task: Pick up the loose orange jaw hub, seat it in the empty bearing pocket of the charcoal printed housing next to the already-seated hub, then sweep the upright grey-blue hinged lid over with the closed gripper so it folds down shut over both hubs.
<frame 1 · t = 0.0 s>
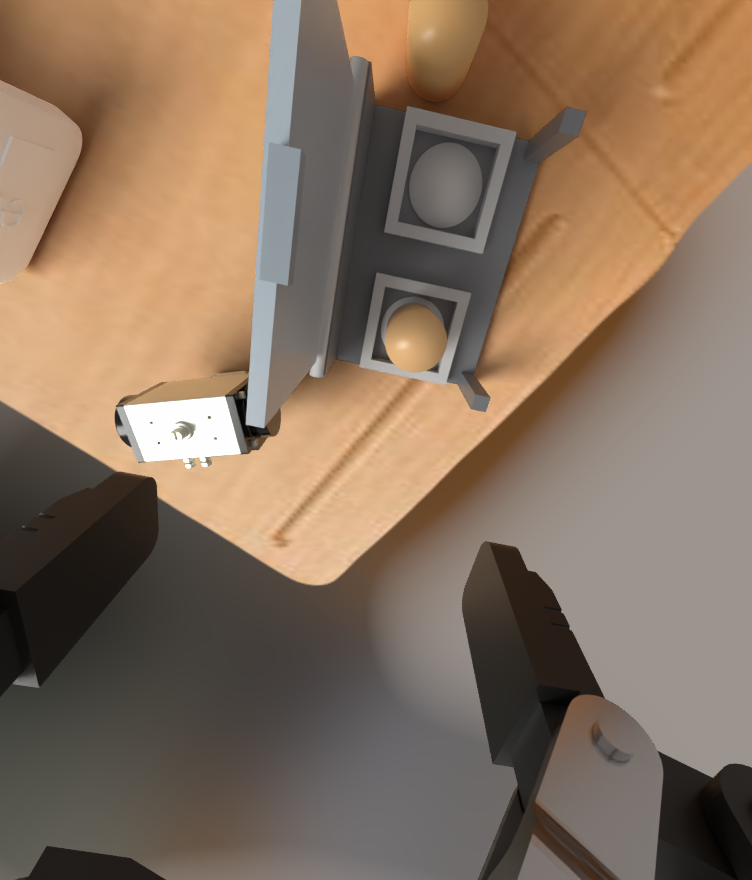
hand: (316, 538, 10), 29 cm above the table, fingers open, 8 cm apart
pneumatic valve: (238, 391, 39), on the table
housing: (421, 262, 34), on the table
cable organizer: (6, 171, 32), on the table
lid: (311, 232, 19), point 16 cm above the table, hinge at 90.0°
jaw hub: (437, 61, 28), on the table
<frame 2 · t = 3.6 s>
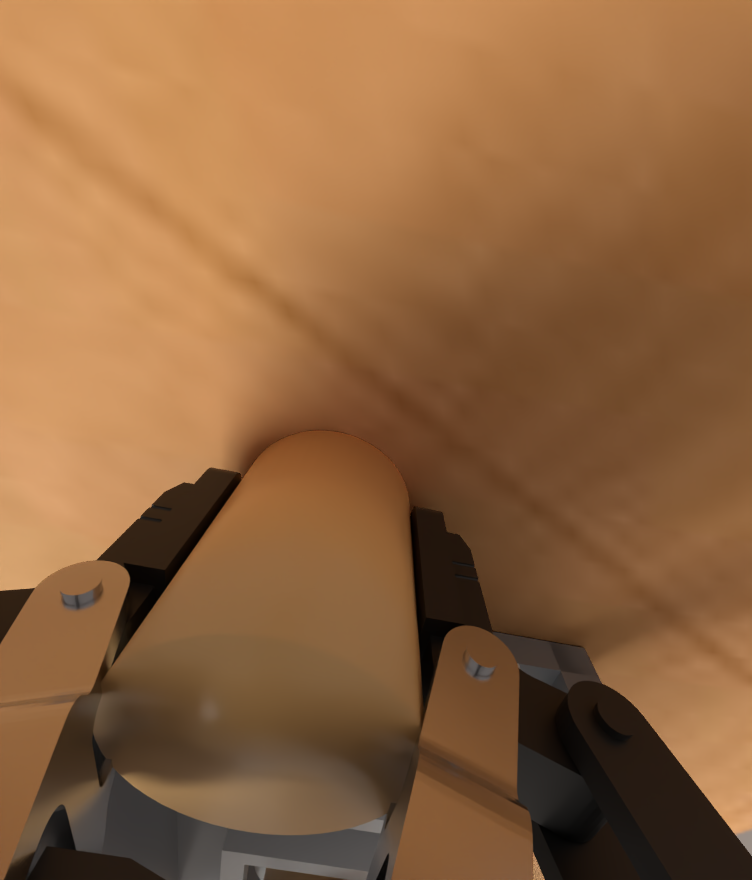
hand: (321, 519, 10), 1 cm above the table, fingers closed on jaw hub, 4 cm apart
housing: (328, 773, 16), on the table
jaw hub: (326, 506, 11), on the table, touching gripper
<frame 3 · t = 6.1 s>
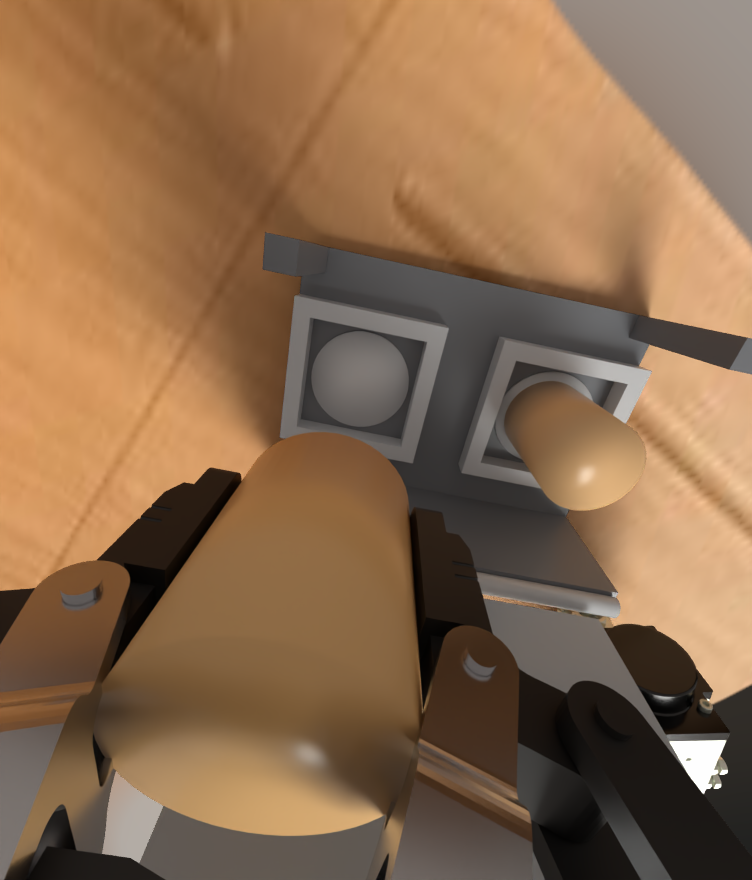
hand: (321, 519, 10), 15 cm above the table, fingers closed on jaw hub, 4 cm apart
pneumatic valve: (580, 614, 31), on the table
housing: (448, 401, 24), on the table
lid: (457, 753, 12), point 16 cm above the table, hinge at 90.0°
jaw hub: (326, 507, 11), point 14 cm above the table, touching gripper
when the fingers open (3 cm above the table, at t = 8.5 s): jaw hub stays where it is, resting on housing.
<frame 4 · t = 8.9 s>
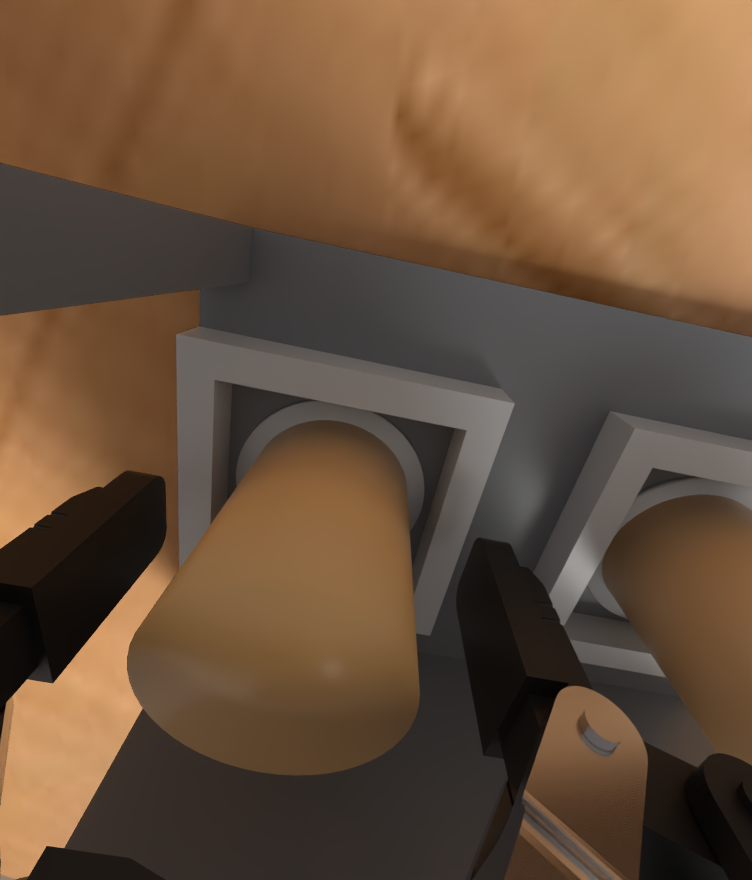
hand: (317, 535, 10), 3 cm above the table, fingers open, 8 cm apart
housing: (493, 515, 13), on the table
jaw hub: (329, 492, 12), point 1 cm above the table, touching housing
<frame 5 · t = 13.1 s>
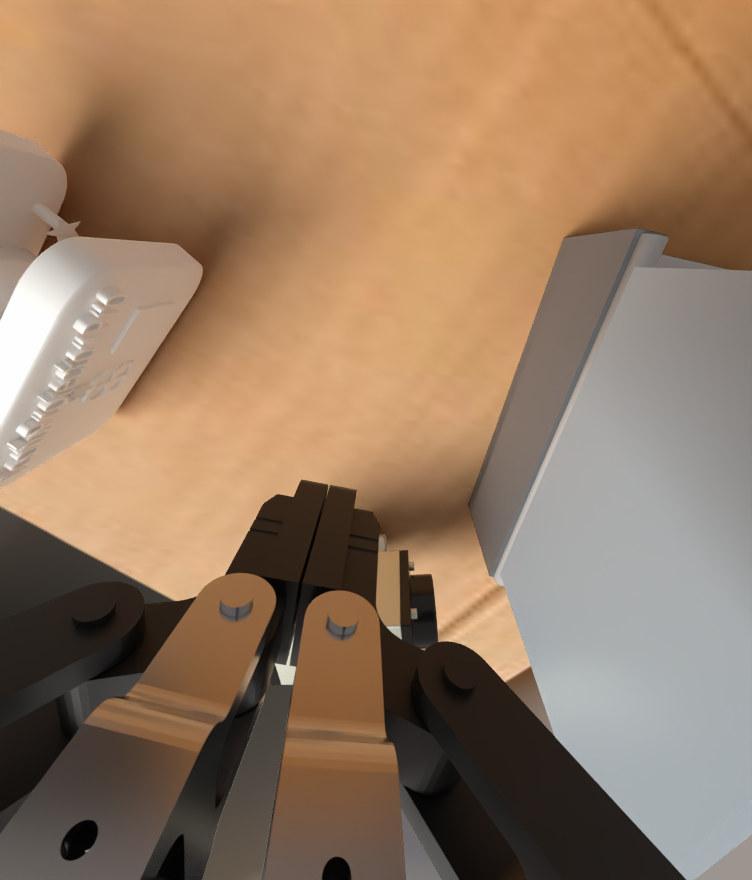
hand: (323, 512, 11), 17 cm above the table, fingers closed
pneumatic valve: (355, 539, 33), on the table
housing: (606, 411, 27), on the table
cable organizer: (97, 304, 26), on the table
lid: (654, 543, 13), point 16 cm above the table, hinge at 90.0°
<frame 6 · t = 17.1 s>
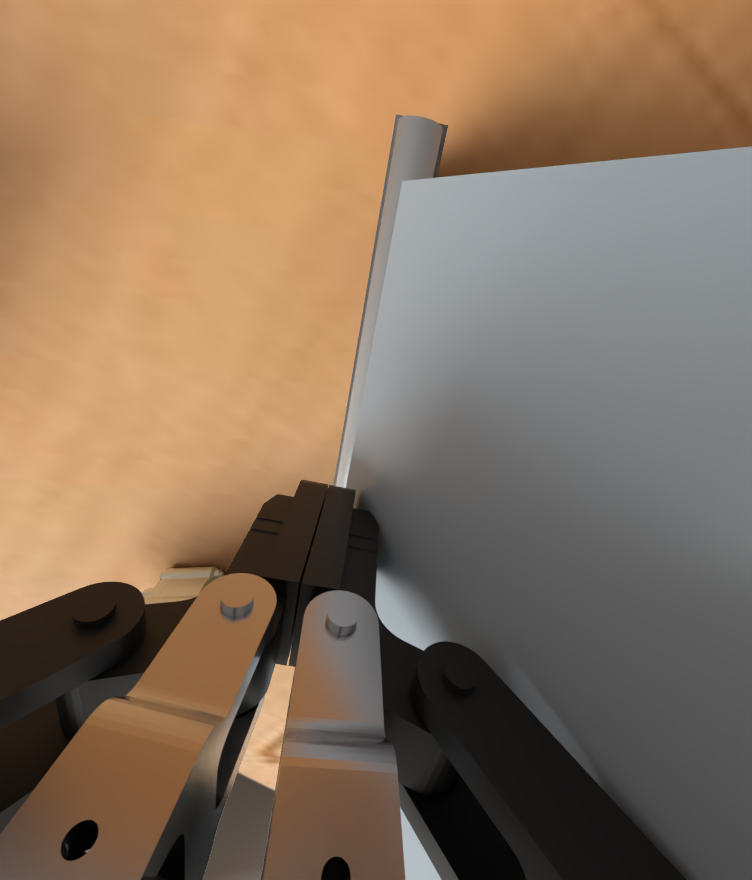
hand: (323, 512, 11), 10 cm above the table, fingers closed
pneumatic valve: (203, 587, 26), on the table
housing: (496, 428, 20), on the table
lid: (547, 727, 7), point 14 cm above the table, hinge at 56.4°, touching gripper, hand
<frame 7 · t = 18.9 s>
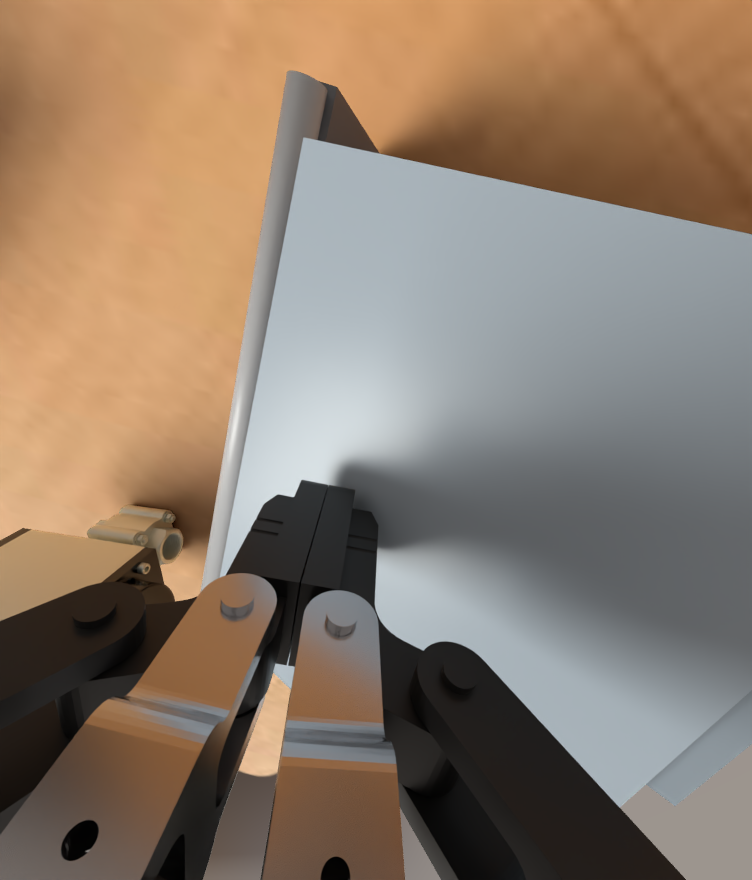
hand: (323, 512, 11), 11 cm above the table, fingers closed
pneumatic valve: (159, 530, 28), on the table
housing: (437, 415, 20), on the table
lid: (439, 548, 10), point 11 cm above the table, hinge at 20.2°, touching gripper
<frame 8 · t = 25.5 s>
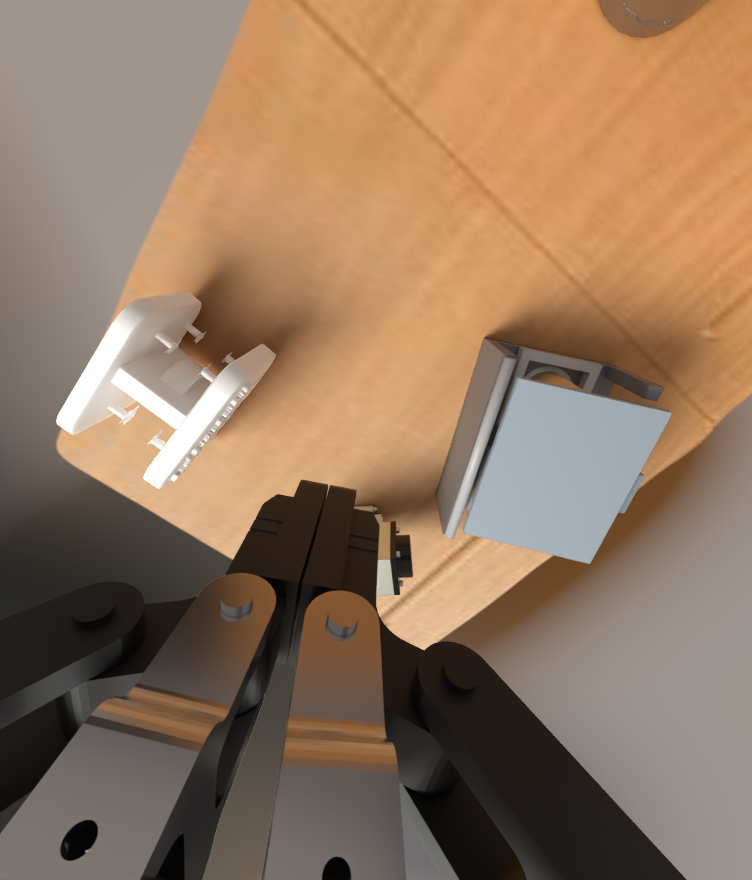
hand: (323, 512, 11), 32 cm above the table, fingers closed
pneumatic valve: (362, 518, 50), on the table
housing: (518, 435, 44), on the table
cable organizer: (206, 371, 43), on the table
lid: (559, 476, 36), point 9 cm above the table, hinge at 5.3°
jaw hub: (544, 393, 41), point 1 cm above the table, touching housing
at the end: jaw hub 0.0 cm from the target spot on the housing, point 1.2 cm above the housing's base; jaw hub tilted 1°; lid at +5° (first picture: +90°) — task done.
